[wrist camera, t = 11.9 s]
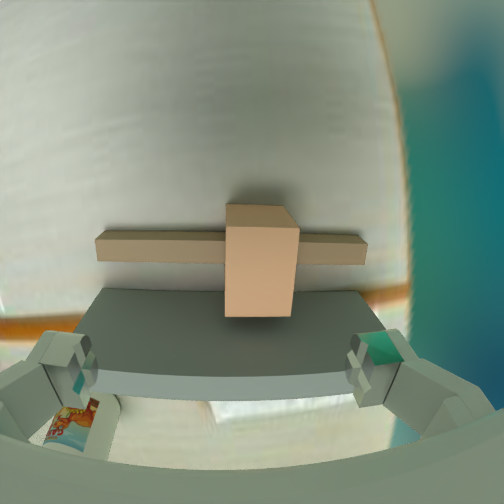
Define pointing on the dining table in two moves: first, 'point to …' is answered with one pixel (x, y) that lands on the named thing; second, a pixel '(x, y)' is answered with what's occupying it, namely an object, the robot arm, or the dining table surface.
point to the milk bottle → (85, 428)
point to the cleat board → (221, 327)
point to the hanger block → (259, 260)
